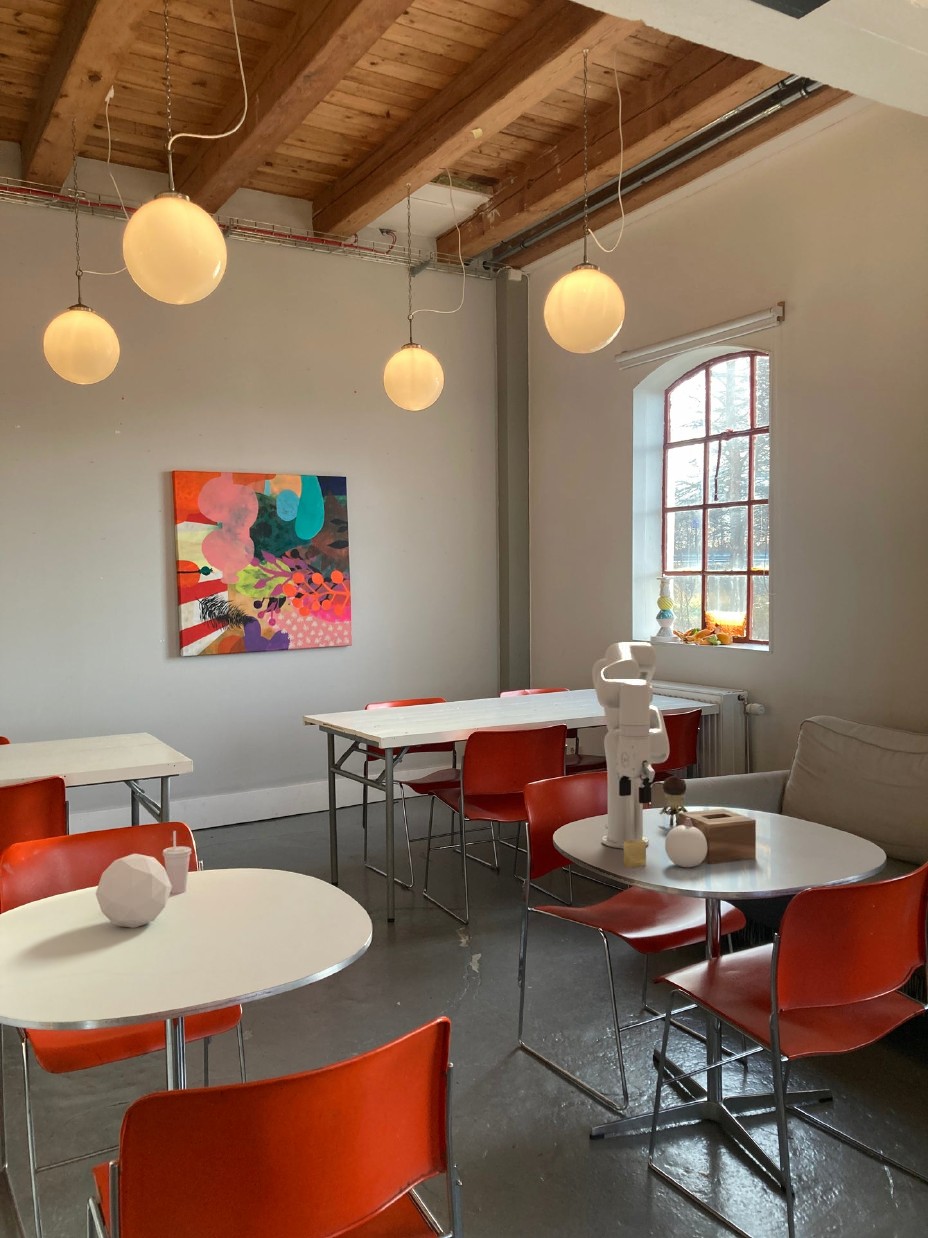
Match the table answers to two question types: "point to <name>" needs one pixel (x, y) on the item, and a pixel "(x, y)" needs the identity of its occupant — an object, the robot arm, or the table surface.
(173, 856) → the smoothie
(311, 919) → the table surface
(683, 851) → the ornament
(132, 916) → the geometric shape
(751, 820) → the box
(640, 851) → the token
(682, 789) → the toy
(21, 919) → the table surface
